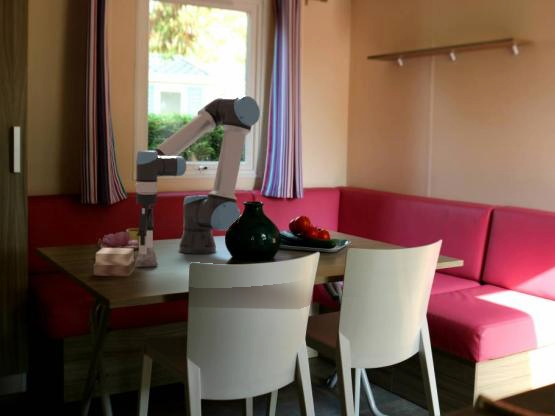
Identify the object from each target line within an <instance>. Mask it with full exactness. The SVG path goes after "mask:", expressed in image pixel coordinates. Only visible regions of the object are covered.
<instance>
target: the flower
mask: <svg viewBox="0 0 555 416" xmlns="http://www.w3.org/2000/svg"><path fill="white" fill-rule="evenodd" d="M130 237H131V236H130V232H126V231H119V232H115V234H114V233H109V234H104V236H103V238H102V239H101V238H99V239H98V240H97V245H98V246H99V248H100V250H101V249H102V248H133V249H134V251H135V250H136V249H139V248H138V246H135V245H136V244H137V243H138V240H132V241H129V240H130Z"/></svg>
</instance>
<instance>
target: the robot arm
mask: <svg viewBox="0 0 555 416" xmlns="http://www.w3.org/2000/svg"><path fill="white" fill-rule="evenodd" d="M260 115H261V113H260V105H259V104H258V103H257V101H256V100H255V99H254V98H253V97H252V96H249V95H242V94H240V95H221V96H220V97H217V98H215V99H213V100H212V101H210V102H209V103H207V104H206V105H204V106H203V107H202V108H201V109H200V110H198V112H197V115H196V116H195V117H193V118H192V119H191V120H190V121H189V122H187V123H186V124H185V125H183V126H182V127H181V128H179V129H178V130H177V131H176V132H174V133H173V134H172V135H170V136H169V137H168V138H166V139H165V140H164V141H163V142H161V144H159V145H157V147H155V148H154V149H152V150H139V151H137V153H136V161H135V164H136V165H135V166H136V168H135V170H136V171H135V172H136V173H135V175H136V180H135V182H136V183H135V184H134V187H135V188H136V189H135V191H136V194H135V203H136V205H141V207H140V208H139V221H138V222H139V223H138V228H139V230H138V234H137V236H139V248H138V255H140V254H147V250H148V249H154V248H153V245H154V244H153V239H154V238H153V234H154V233H153V231H155V230H156V227H155V226H154V225H155V224H154V212H153V205H156V204H158V194H157V193H158V178H160V177H179V176H180V177H181V176H184V175H185V173H186V171H187V162H186V160H185V158H184V157H183V156H181V155H180V154H181V153H182V152H184V151H185V150H186V149H188V147H190V146H192V145H193V144H194V143H195V142H196V141H197V140H199V139H200V138H201V137H202V136H204V135H205V134H207V132H208V131H214V130H215V129H216V128H218V127H221V128H222V129H223V131H224V132H223V137H222V143H221V147H220V153H219V158H218V163H217V168H216V172H215V178H214V182H213V187H212V190H211V191H209V192H208V193H207V194H202V195H188V196H185V197H184V200H183V233H182V235H181V238H180V242H179V245H178V252H180V253H184V254H191V255H192V254H193V255H203V254H213V253H215V252H217V245H216V242H215V237H214V235H213V230H215V231H219V232H221V231H224V232H225V231H226V232H227V231H229V230H228V229H229V227H230V226H231V225H232V224H233V223H234V221H236V220H237V219H238V218H239V219H240V215H241V211H240V208H239V206H238V204H237V200H238V198H237V197H236V195H235V193H236V191H235V190H236V186H237V182H238V176H239V172H240V166H241V162H242V156H243V150H244V146H245V141H246V136H247V135H248V134H250V133H251V129H252V126H254V125H255V124H256V123H258V122H259V119H260ZM179 155H180V156H179Z"/></svg>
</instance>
